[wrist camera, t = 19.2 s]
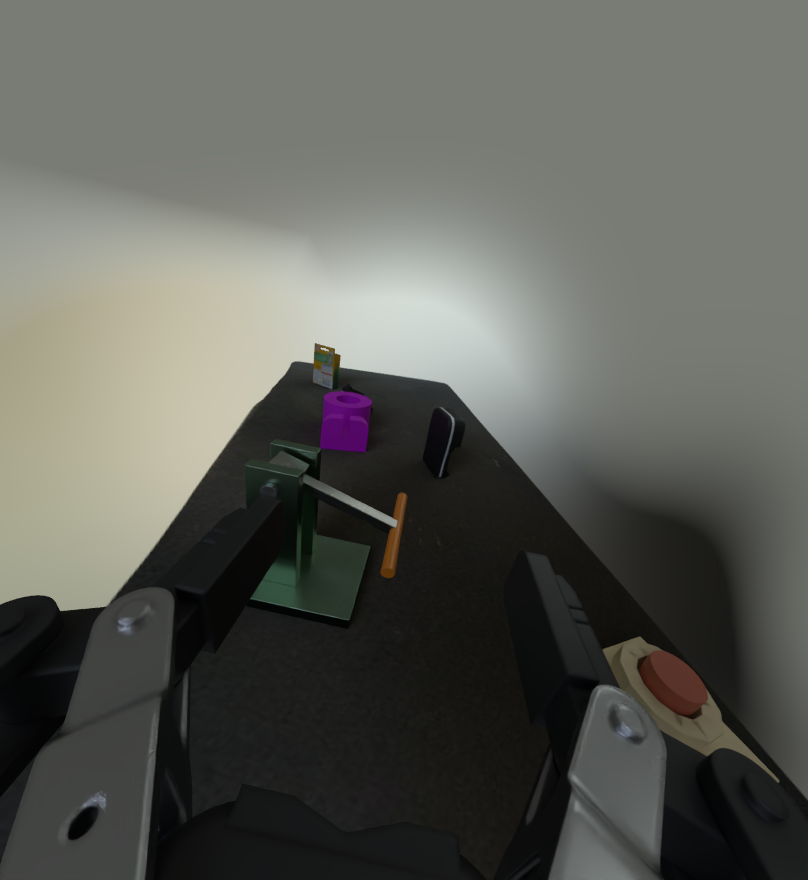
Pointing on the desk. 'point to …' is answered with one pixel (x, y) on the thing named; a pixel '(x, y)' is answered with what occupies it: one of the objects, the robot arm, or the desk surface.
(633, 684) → the stop housing
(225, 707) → the desk surface
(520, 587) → the robot arm
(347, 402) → the purple bearing bracket
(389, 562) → the lever
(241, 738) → the desk surface
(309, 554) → the switch bracket
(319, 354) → the crayon box
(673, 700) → the stop button
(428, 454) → the battery charger
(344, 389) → the gaming controller
